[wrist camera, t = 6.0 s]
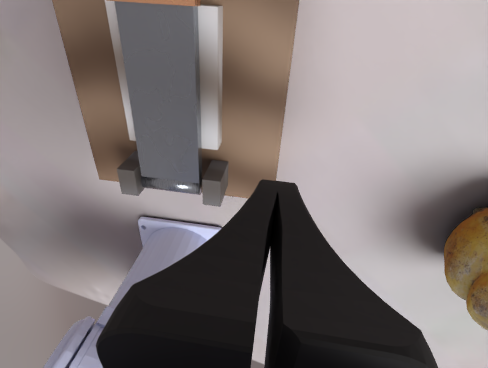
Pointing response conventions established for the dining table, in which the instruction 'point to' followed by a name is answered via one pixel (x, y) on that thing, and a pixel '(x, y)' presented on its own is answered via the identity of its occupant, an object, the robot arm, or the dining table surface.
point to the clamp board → (211, 90)
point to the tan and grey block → (164, 89)
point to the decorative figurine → (470, 264)
